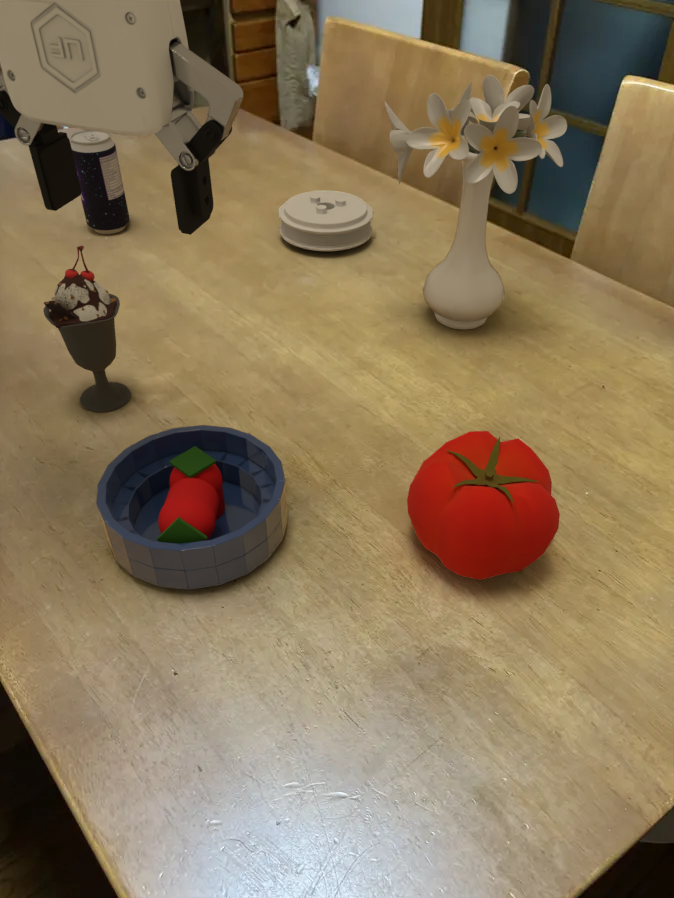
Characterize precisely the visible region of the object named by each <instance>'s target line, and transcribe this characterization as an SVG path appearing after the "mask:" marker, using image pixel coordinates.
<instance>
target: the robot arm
mask: <svg viewBox="0 0 674 898" xmlns="http://www.w3.org/2000/svg"><path fill="white" fill-rule="evenodd" d="M187 35H188V34H187V30H186V25H185V20H184V15H183V10H182V4H181V0H0V115H1V116H2V117H3V118H4V119H5V121H7V122H8V123H9V125H10V126H12V127H13V128H14V135H15V138H16V139H17V141H18V142H19V143H20V144H21V145H23V146H27V147H28V149H29V153H30V157H31V160H32V164H33V168H34V172H35V175H36V179H37V182H38V183H37V184H38V186H39V191H40V193H41V197H42V201H43V205H44V208H45V209H46V210H47V211H54V212H56V211H58V210H60V209H62V207H64V206H66V205H68V204H69V203H70V202H73V201H74V200H76V199H77V198H79V197H80V195H81V187H80V183H79V178H78V174H77V170H76V165H75V161H74V157H73V152H72V148H71V144H70V142H71V139H70V137H68V133H67V132H63V131H59V128H60V127H65V128H72V129H79V130H90V131H97V132H104V133H110V135H119V136H126V137H133V138H135V137H137V138H145V137H151V136H153V135H155V137H156V138H157V139H158V140H159V141H160V143H161V144H162V146H163V147H164V148H165V149H166V150H167V152H168V153H169V154H170V156H171V157H172V158H173V159H174V161H175V162H176V163H177V165H176V166H175V167H174V168H172V169H171V171H170V180H171V187H172V194H173V200H174V208H175V214H176V221H177V227H178V231H180V232H181V234H185V235H193V234H194V233H195V232H196V231H197V230H198V229H199V228H201V227H202V226H203V225H204V224H205V223H206V222H207V221H209V220H210V218H211V215H212V213H213V210H214V194H213V187H212V179H211V168H210V160H209V159H210V158H211V157H212V156H213V155H214V154H215V153H216V151H217V150H218V149H219V147H220V146H221V145H222V144H223V143H224V142H225V140H226V139H227V138H229V136H230V135H231V134H232V131H233V124H234V122H235V121H236V118H237V115H238V112H239V111H240V108H241V105H242V103H243V100H244V90H243V88H242V86H240V84H238V83H236V81H233V80H232V79H231V78H229V77H228V76H227V75H226V74H224V73H223V72H221V71H220V70H218V69H217V68H216V67H214V66H213V65H211V63H209V62H208V61H206V60H205V59H203V58H202V57H200V56H199V55H197V54H196V53H194V51H192V50H190V48H189V41H188V36H187ZM195 92H196V93H197V94H198V95H200V96H201V97H203V98H204V99H205V100H206V102H207V104H208V112H207V117H206V120H205V122H204V124H202V123H201V122H200V121H199V119H198V118H197V117H196V115H195V114H194V113H193V109H194V104H195Z"/></svg>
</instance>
